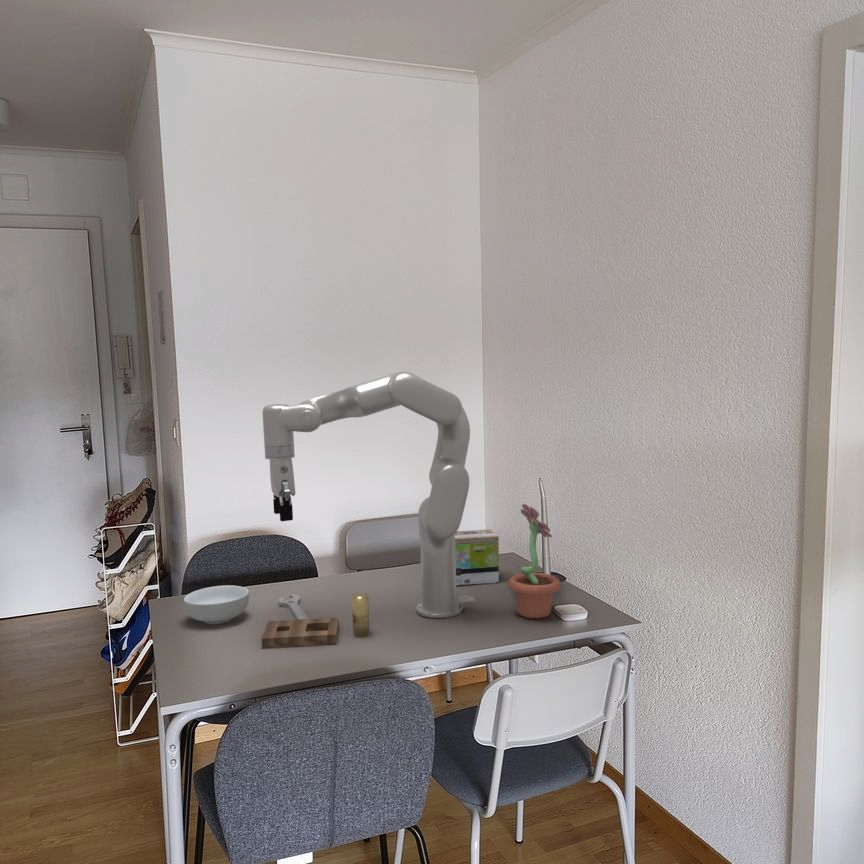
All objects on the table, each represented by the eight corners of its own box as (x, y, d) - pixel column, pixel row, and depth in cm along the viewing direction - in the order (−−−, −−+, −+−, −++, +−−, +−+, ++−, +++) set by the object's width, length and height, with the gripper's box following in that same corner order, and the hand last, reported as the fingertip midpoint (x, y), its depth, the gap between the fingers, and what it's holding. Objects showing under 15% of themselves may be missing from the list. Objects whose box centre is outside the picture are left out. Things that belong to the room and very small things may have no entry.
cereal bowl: (250, 606, 220) (248, 581, 220) (250, 626, 204) (249, 600, 203) (187, 612, 216) (185, 588, 216) (183, 633, 200) (181, 607, 200)
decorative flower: (572, 620, 201) (571, 507, 198) (523, 627, 197) (521, 511, 194) (546, 602, 215) (545, 496, 212) (500, 609, 211) (498, 501, 208)
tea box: (451, 587, 232) (450, 539, 230) (444, 577, 242) (442, 531, 240) (499, 583, 235) (498, 535, 233) (490, 573, 244) (489, 527, 243)
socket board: (338, 626, 202) (338, 617, 201) (336, 644, 190) (336, 634, 190) (268, 630, 200) (268, 621, 200) (262, 648, 189) (261, 638, 188)
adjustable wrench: (312, 628, 202) (312, 622, 202) (287, 632, 201) (287, 625, 200) (299, 599, 226) (298, 593, 226) (276, 602, 224) (276, 596, 224)
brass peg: (369, 630, 198) (368, 592, 197) (369, 636, 194) (368, 597, 193) (353, 631, 198) (351, 593, 197) (352, 637, 194) (351, 598, 193)
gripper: (300, 454, 194) (304, 522, 196) (288, 447, 210) (291, 509, 212) (270, 457, 192) (274, 525, 193) (260, 449, 208) (264, 512, 210)
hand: (283, 516), depth 203 cm, fingers open, 9 cm apart
